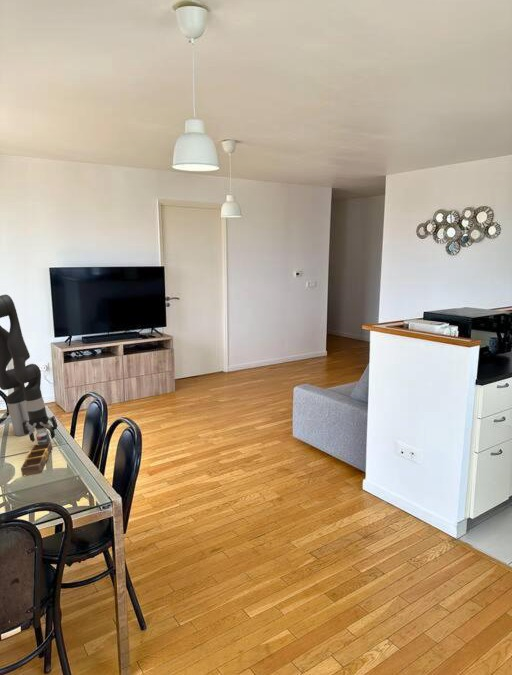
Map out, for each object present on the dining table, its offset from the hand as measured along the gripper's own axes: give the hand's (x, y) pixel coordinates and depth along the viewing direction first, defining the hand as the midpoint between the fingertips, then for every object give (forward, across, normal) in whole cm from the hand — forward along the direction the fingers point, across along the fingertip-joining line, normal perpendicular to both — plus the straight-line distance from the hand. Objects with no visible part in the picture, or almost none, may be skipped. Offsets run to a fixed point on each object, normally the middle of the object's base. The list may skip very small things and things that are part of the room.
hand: (43, 439), depth 217 cm
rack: (+3, -1, +16) cm, 16 cm away
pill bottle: (+3, 0, 0) cm, 3 cm away
